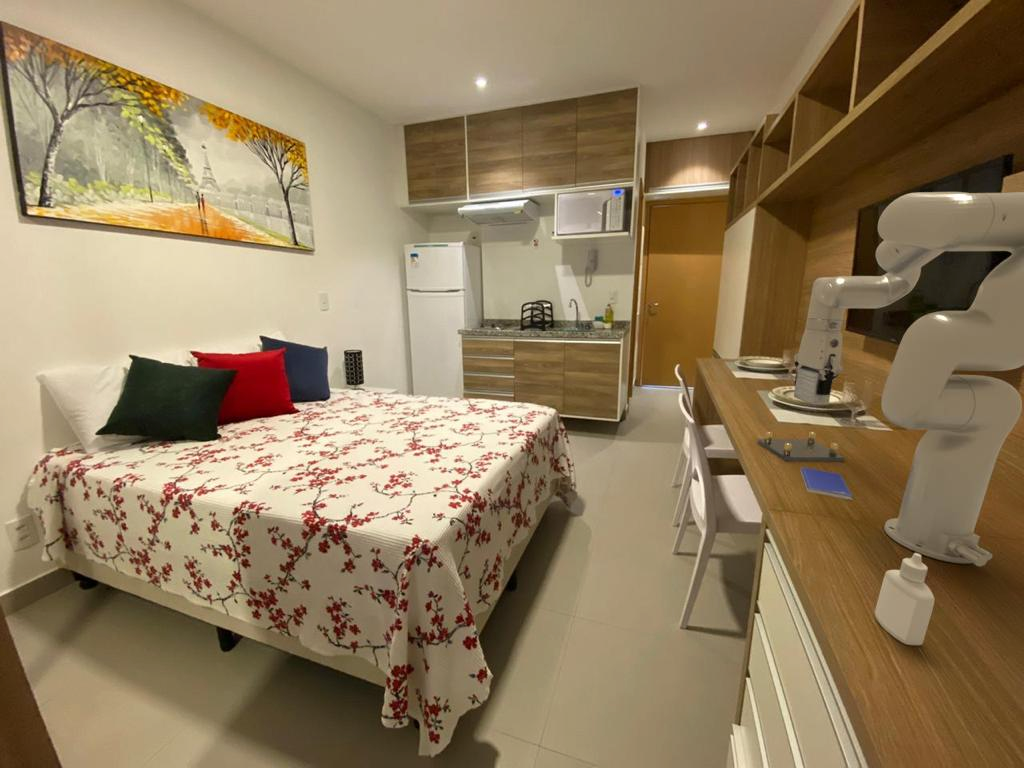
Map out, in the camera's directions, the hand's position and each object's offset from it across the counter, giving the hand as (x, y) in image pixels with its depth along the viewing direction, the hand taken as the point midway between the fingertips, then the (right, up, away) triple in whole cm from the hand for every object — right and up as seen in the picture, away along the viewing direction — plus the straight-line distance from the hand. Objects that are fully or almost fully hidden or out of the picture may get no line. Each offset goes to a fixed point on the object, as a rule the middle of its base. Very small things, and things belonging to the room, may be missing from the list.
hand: (811, 390), depth 113 cm
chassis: (0, -18, +5) cm, 18 cm away
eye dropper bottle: (-28, -33, -55) cm, 70 cm away
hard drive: (-7, -23, -14) cm, 28 cm away
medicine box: (0, -3, +1) cm, 3 cm away
